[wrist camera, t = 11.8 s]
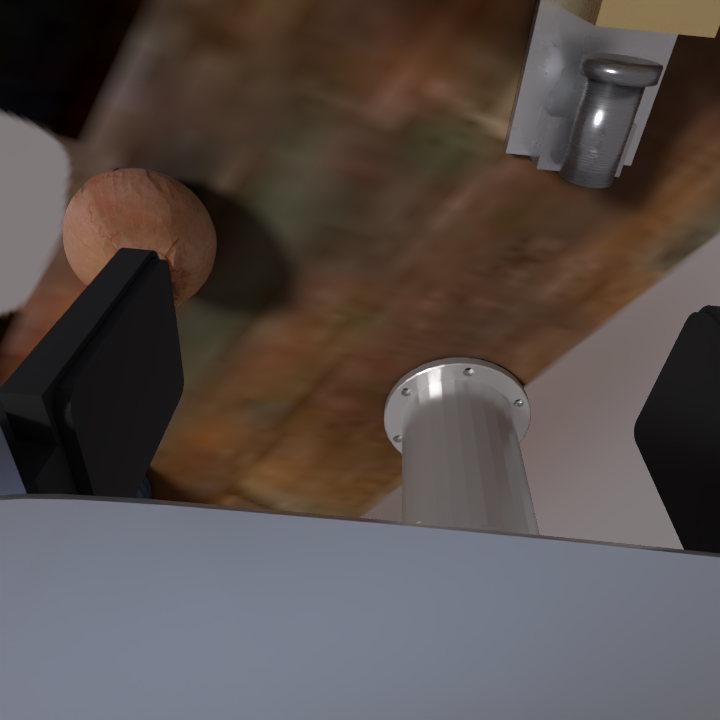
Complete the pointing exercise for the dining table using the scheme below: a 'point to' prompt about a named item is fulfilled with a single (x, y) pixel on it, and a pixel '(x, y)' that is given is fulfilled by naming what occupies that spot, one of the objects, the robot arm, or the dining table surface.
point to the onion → (140, 226)
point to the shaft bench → (564, 66)
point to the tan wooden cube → (651, 15)
